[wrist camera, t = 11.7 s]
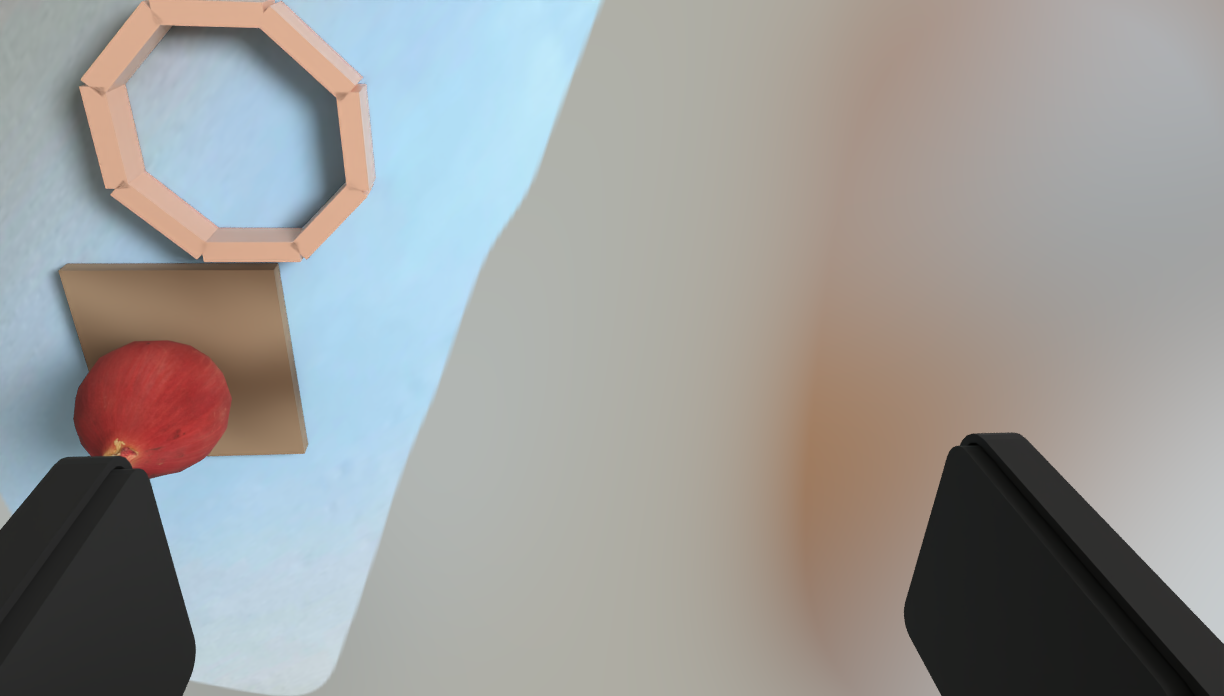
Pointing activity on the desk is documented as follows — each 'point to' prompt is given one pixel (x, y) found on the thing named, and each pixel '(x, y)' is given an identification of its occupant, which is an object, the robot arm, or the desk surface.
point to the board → (203, 336)
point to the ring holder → (124, 171)
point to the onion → (153, 406)
